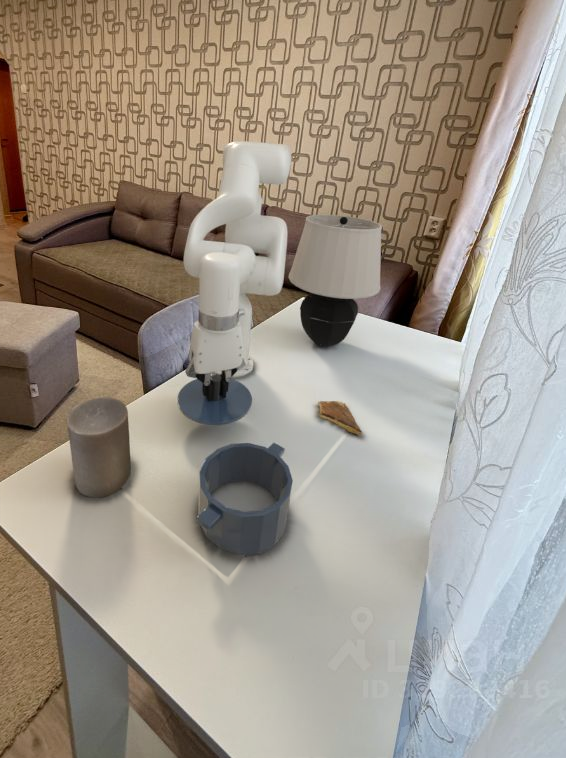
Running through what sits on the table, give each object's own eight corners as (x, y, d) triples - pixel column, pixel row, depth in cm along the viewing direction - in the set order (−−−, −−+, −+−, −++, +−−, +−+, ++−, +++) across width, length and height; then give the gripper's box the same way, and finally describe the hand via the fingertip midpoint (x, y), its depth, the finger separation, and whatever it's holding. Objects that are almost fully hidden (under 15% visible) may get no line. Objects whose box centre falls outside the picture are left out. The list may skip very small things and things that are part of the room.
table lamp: (316, 318, 143) (333, 206, 128) (383, 348, 125) (412, 222, 110) (263, 338, 126) (276, 211, 110) (332, 375, 108) (358, 230, 92)
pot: (167, 530, 62) (167, 490, 59) (244, 458, 77) (247, 423, 74) (240, 592, 54) (244, 550, 51) (309, 499, 69) (316, 462, 66)
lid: (161, 404, 82) (160, 379, 79) (211, 372, 94) (212, 349, 91) (218, 440, 74) (220, 413, 71) (266, 400, 85) (268, 376, 83)
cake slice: (361, 437, 85) (362, 431, 85) (327, 438, 84) (328, 432, 84) (343, 406, 95) (344, 400, 95) (313, 407, 94) (314, 400, 93)
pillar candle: (140, 462, 75) (138, 396, 69) (114, 504, 66) (108, 433, 60) (93, 451, 76) (87, 386, 70) (61, 491, 67) (51, 420, 62)
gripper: (249, 305, 82) (243, 379, 89) (172, 314, 75) (173, 392, 83) (264, 321, 75) (257, 399, 83) (182, 332, 69) (182, 415, 77)
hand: (215, 395), depth 83 cm, fingers closed on lid, 2 cm apart
